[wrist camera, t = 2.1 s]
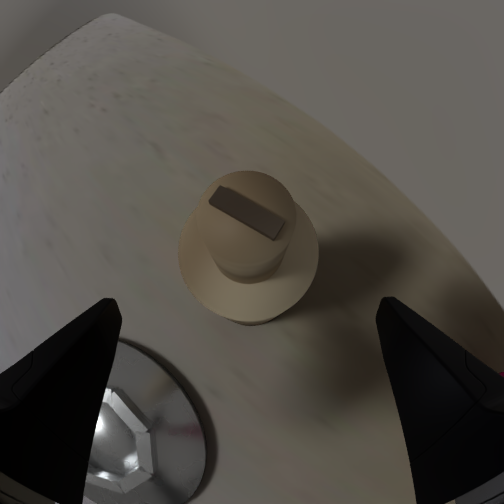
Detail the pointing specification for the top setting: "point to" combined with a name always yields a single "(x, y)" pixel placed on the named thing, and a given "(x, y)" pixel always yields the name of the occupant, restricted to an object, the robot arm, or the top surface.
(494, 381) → the robot arm
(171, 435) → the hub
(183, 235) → the knob
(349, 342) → the top surface
